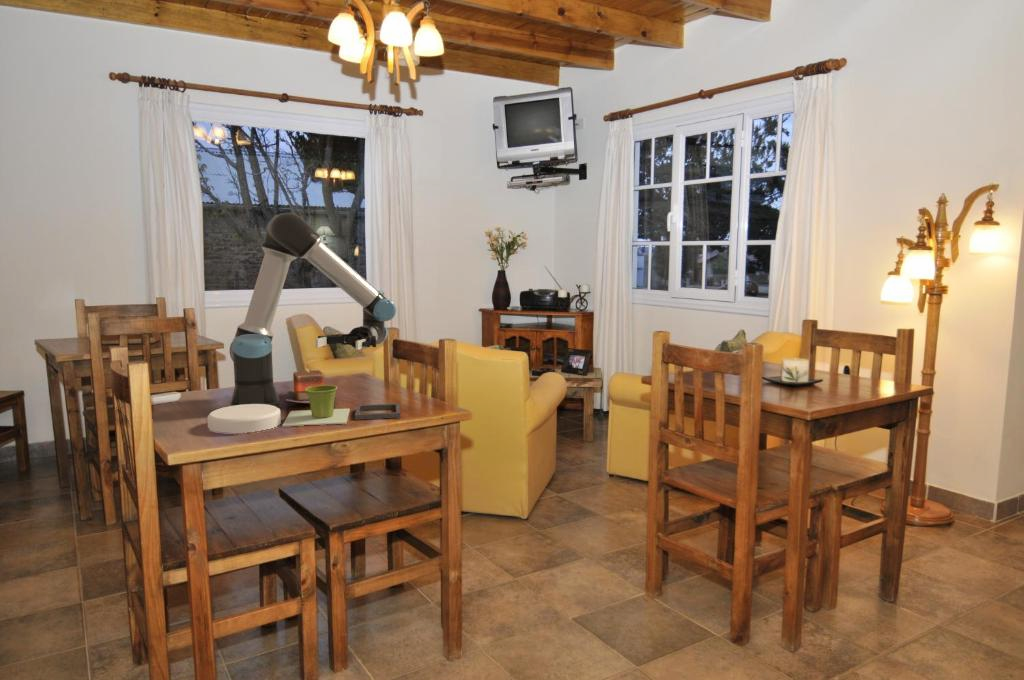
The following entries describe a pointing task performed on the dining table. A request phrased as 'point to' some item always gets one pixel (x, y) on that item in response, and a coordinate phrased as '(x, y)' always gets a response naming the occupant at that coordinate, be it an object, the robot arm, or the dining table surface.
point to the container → (244, 418)
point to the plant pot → (321, 400)
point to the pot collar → (377, 415)
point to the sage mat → (307, 419)
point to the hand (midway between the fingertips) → (336, 344)
